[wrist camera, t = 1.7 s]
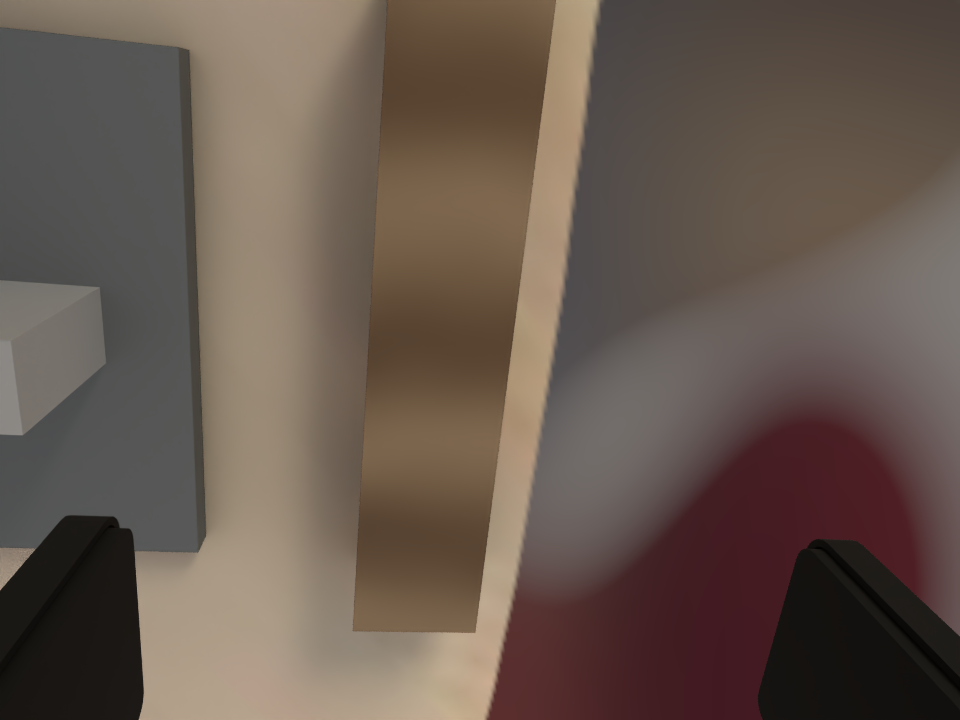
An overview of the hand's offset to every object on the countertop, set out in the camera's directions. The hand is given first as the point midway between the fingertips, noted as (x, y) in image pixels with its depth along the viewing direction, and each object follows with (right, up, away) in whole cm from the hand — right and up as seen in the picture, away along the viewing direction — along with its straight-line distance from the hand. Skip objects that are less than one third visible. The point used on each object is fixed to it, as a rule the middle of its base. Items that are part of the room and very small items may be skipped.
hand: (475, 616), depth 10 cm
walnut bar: (-1, +5, +14) cm, 15 cm away
